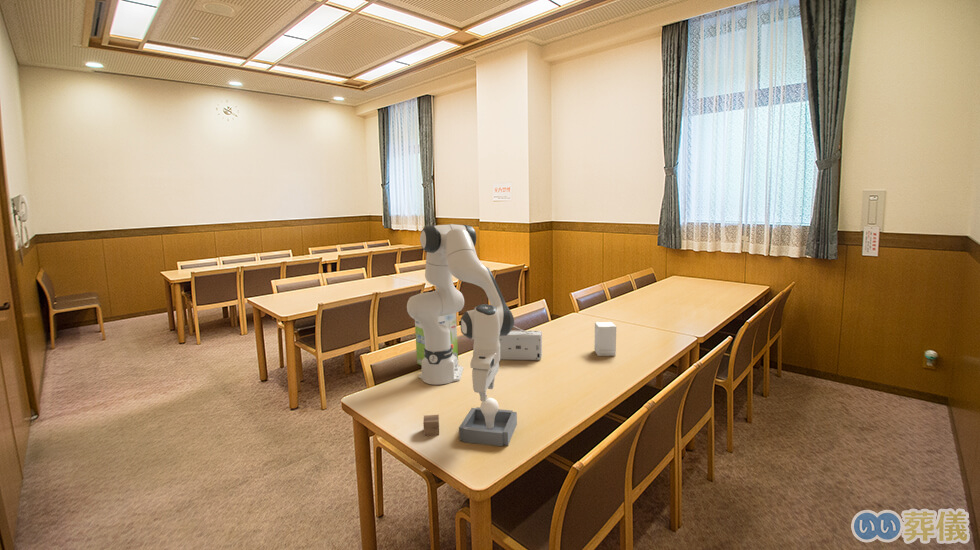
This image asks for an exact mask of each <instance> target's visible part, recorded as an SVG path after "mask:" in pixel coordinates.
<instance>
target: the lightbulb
mask: <svg viewBox="0 0 980 550" xmlns="http://www.w3.org/2000/svg"><path fill="white" fill-rule="evenodd" d="M499 407H500V406H499V402H498V401H497V400H496V399H495V398H493V397H487V399H486V401H485V402H484V401H481V404H480V409H481V412H482V413H483V415H484V417H485V422H486V428H487V429H492V428H493V427H494V420H495V416H496V414H497V412H498V409H500V408H499Z"/></svg>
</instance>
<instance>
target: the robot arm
mask: <svg viewBox="0 0 980 550" xmlns="http://www.w3.org/2000/svg"><path fill="white" fill-rule="evenodd" d="M419 237H420V238H419V241H420V246H421V248H422V250H424V252H426V258H425V269H424V270H425V271H424V277H425V279H426V281H427V283H429V284H431V285H433V286H434V287H435V290H434V291H428V292H420V293H417V294H415V295H412V296H410V297H409V298H408V301H407V302H406V311H407V314H408V315H409V317H410V318H412V319H413V320H414V321H415V320H416V321H418V322H419V324H420V325H421V327H422V329H423V332H424V339H425V348H424V356H425V358H424V359H423V360H422V366H421V373H420V374H418V378H419V379H420V380H422V381H423V382H424V383H426V384H429V385H434V386H435V385H439V386H440V385H446V384H449V383H453V382H458V381H461V378H462V375H463V371H464V367H463V366H462V365H459V357H458V358H457V357H456V356H454V355H453V352H452V349H453V344H451V342H450V330H449V329H448V327H447V326H445V325H443V324H440V323H439V322H438V317H439V316H445V315H450V314H454V313H456V314H457V313H458V312H460V311H462V310H463V308H464V307H465V297H464V295H463V293H462V291H460V290H458V289H457V288H456V287H455V285H454V282H453V277H454V278H456V279H457V280H459V281H461V282H465V283H469V284H473V285H475V286H478V287H479V288H481V289H483V290H484V292H485V294H486V297H487V299H488V301H489V304H487V303H486V304H479V305H477V306H475V307H474V309H472V310H467V311H465V312H464V313H463V314H462V316H461V317H460V333H461V334H462V335H463V336H465V337H466V338H467V339H469V340H473V346H472V347H473V351H472V357H471V360H470V368H471V369H472V372H471V374H472V375H471V378H472V388H473V391H474V393H477V394H479V401H480V402H482V401H484V402H485V401H486V399H487V398H488V397H487V396H488V395H487V390H493V389H494V386H495V378H496V376H497V373H498V372H499V369H500V361H501V358H500V342H499V336H506V335H508V334H509V333H510V331H513V328H515V327H514V326H515V318H514V315H513V313H512V311H511V310H510V307H508V305H507V303H506V301H505V298H504V296H503V294H502V291H501V289H500V286H499V285H498V283H497V281H496V278H495V277H494V275H493V272H492V271H491V269H490V268H489V267H487V266H485V265H484V264H483V263H482V262H481V261H480V259H479V257H478V255H477V250H476V248H475V246H476V244H477V233H476V229H474V227H473V226H471V225H469V224H455V223H448V224H439V225H433V224H431V225H427V226H424V227H423V229H421V232H420V236H419Z"/></svg>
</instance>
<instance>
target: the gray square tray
mask: <svg viewBox="0 0 980 550" xmlns="http://www.w3.org/2000/svg"><path fill="white" fill-rule="evenodd" d="M517 425H518V412H517V411H513V410H510V409H500V408H499V409H498V412H497V414H496V416H495V420H494V427H493V428H492V429H487V428H486V422H485V417H484V415H483V413H482V412H481V409H480V407H478V406H477V407H471V408H470V409H469V412H468V413H467V415H466V416H465V417H464V418H463V420H462V422H461V424H460V425H459V427H458V435H459V436H458V438H459V441H463V443H467V444H468V443H469V444H476V445H487V446H492V447H493V446H495V447H503V446H507V447H508V446H509V444H510V443H511V440H512V437H513V435H514V432H515V429H516V428H517Z"/></svg>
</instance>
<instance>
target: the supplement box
mask: <svg viewBox="0 0 980 550" xmlns="http://www.w3.org/2000/svg"><path fill="white" fill-rule="evenodd" d="M593 347H594V348H593V349H594V350H595V351H594V352H595V354H596V355H597V356H598V357H609V356H610V357H614V356H615V357H616V354H617V351H616V350H617V326H616V325H615V323H613V322H612V321H602V322H601V321H596V322H594V346H593Z"/></svg>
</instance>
